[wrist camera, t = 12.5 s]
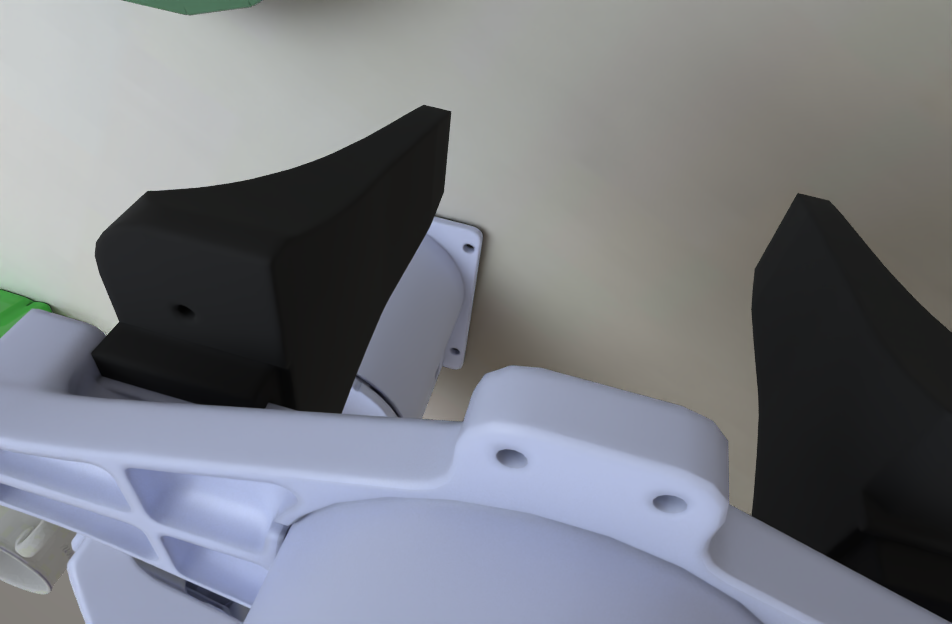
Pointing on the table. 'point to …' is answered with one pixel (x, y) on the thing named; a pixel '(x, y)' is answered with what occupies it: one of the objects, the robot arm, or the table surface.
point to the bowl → (196, 5)
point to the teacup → (32, 551)
